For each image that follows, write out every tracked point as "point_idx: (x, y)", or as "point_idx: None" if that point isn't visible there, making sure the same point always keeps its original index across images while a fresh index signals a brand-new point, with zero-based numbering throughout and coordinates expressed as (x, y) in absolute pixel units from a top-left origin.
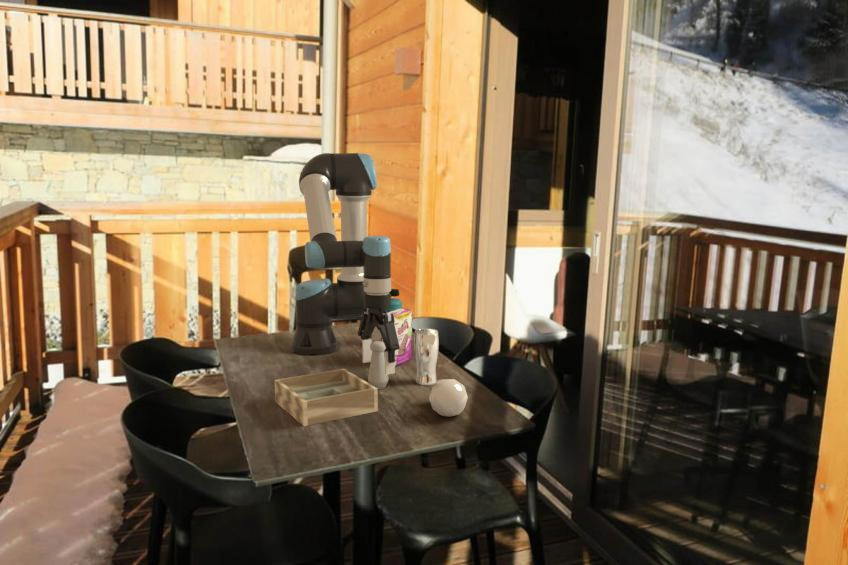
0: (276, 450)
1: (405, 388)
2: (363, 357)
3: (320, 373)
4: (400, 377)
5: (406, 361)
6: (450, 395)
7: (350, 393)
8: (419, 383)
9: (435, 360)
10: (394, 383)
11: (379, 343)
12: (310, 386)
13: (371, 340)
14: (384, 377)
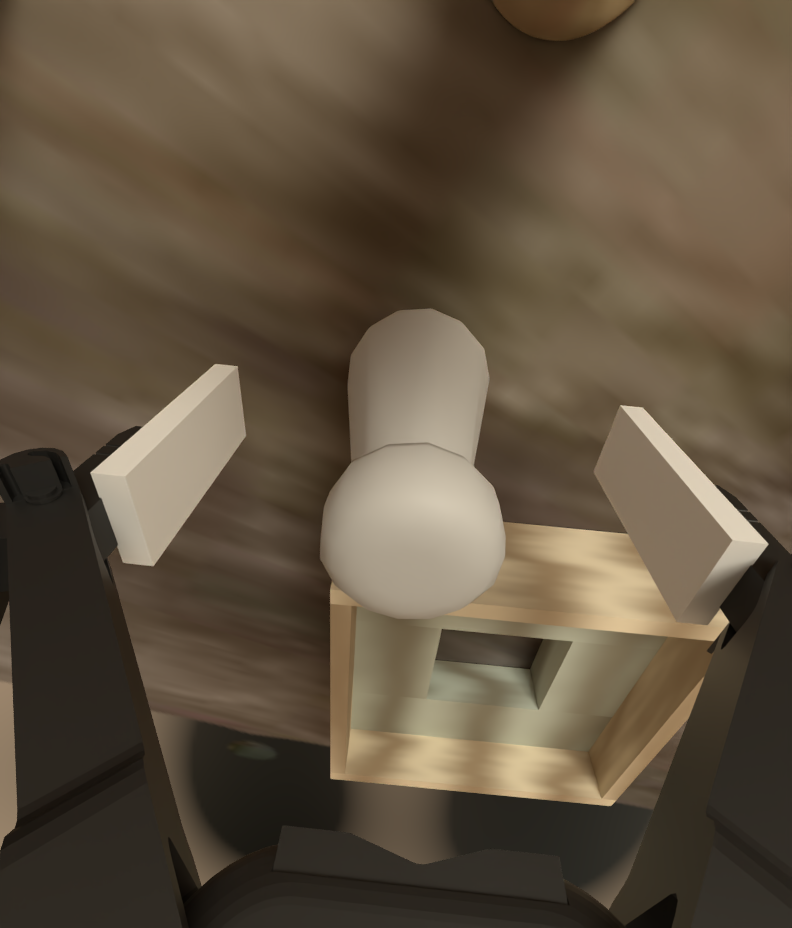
0: (656, 784)
1: (563, 224)
2: (228, 458)
3: (346, 681)
4: (317, 73)
5: None
6: None
7: (688, 715)
8: (580, 35)
9: None
10: (421, 225)
11: (470, 586)
12: (359, 664)
13: (134, 473)
14: (487, 384)
